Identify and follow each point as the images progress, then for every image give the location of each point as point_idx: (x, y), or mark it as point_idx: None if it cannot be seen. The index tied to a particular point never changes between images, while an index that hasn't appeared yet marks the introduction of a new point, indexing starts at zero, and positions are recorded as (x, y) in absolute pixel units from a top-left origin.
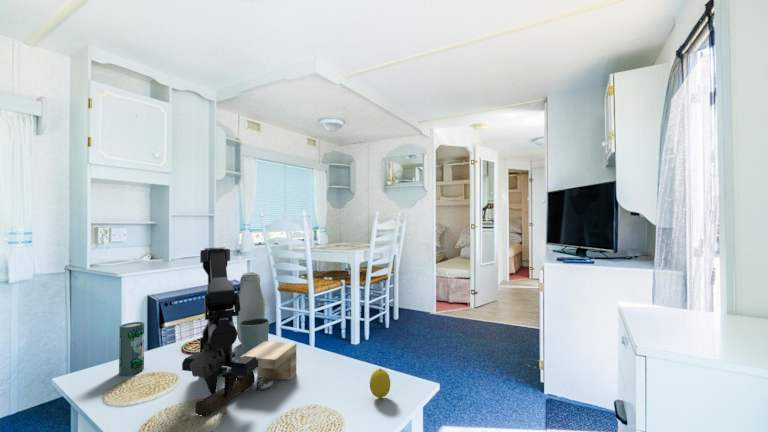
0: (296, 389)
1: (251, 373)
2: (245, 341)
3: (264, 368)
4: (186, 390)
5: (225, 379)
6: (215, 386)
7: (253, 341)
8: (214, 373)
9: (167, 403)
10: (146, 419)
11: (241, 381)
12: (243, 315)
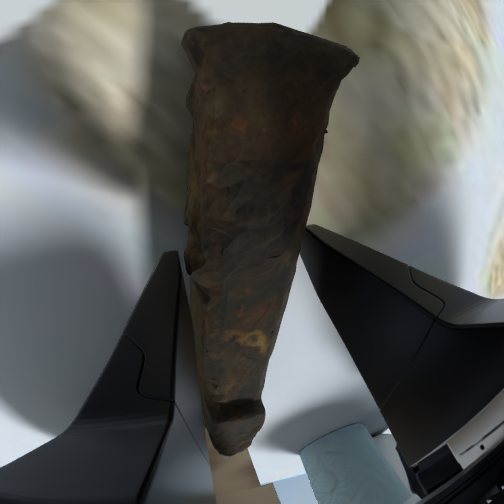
0: (11, 415)
1: (213, 446)
2: (370, 468)
3: (215, 459)
4: (458, 250)
5: (147, 421)
6: (331, 300)
7: (345, 481)
8: (407, 394)
9: (486, 147)
10: (489, 17)
11: (212, 402)
12: (412, 496)
